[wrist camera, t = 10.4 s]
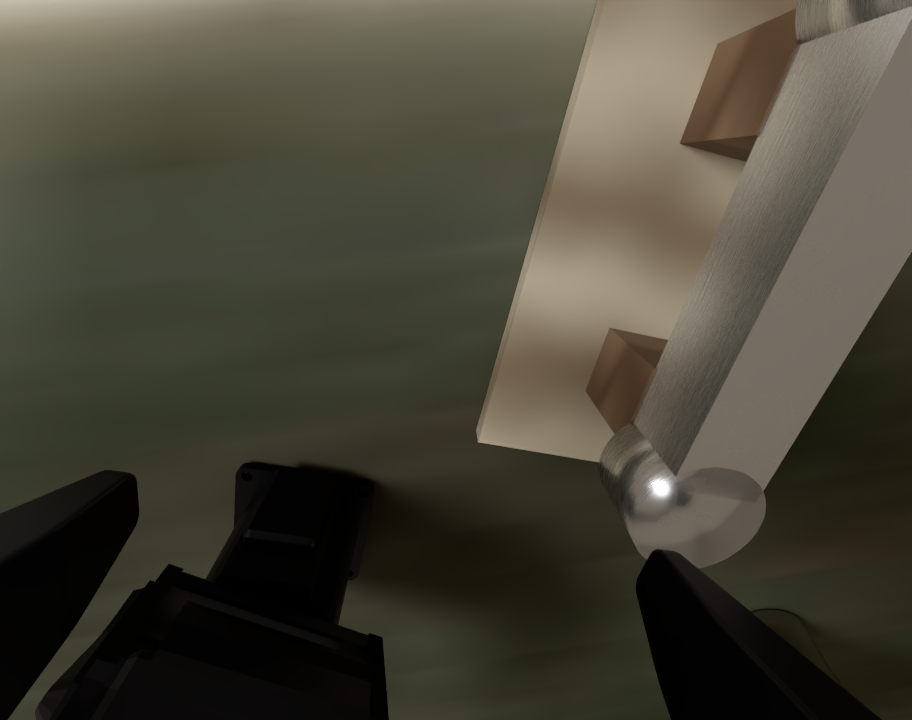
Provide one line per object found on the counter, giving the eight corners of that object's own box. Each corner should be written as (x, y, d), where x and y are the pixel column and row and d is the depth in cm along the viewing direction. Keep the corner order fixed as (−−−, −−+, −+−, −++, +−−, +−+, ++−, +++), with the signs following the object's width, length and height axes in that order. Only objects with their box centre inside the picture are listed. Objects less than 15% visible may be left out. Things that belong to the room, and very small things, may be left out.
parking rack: (684, 465, 22) (749, 542, 18) (476, 430, 21) (487, 503, 16) (933, -14, 15) (1158, -97, 10) (631, -119, 13) (733, -270, 9)
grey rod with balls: (680, 510, 17) (728, 577, 14) (583, 495, 16) (613, 561, 14) (1004, -89, 10) (1218, -186, 7) (854, -147, 10) (1024, -274, 7)
